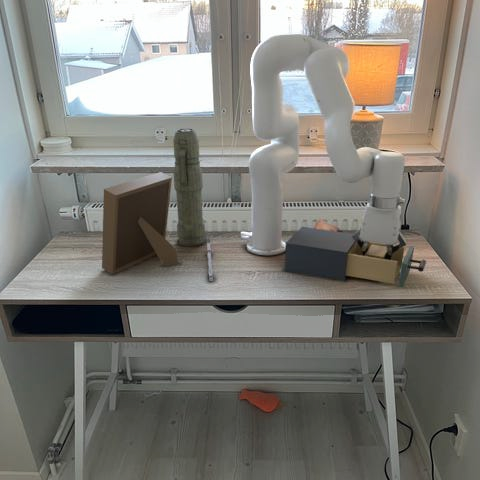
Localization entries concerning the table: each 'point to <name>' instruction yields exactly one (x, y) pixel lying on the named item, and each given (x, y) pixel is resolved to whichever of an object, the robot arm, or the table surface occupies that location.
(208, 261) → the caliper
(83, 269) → the table surface
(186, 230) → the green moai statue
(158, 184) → the photo frame
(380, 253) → the box
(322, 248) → the cabinet
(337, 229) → the sunglasses case
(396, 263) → the drawer
